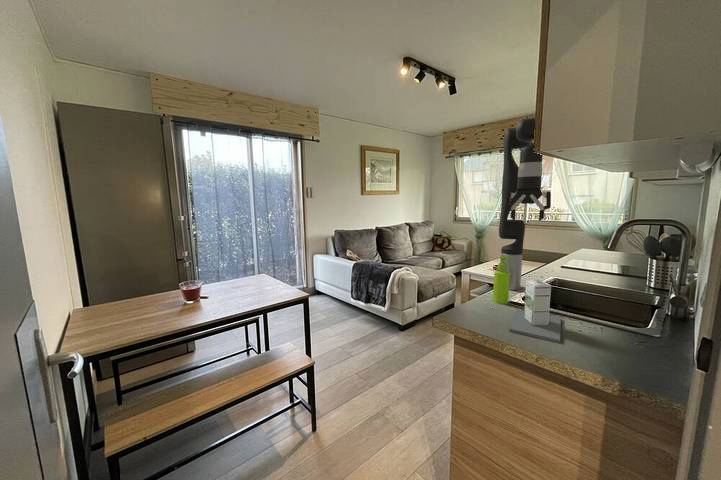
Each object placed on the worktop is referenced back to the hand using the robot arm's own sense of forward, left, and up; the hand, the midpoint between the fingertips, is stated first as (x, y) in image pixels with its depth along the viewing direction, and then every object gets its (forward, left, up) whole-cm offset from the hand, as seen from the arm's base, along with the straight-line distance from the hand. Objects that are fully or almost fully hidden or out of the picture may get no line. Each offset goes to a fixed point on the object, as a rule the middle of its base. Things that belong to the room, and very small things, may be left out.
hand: (526, 220), depth 106 cm
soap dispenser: (-8, -8, -36) cm, 38 cm away
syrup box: (+10, +6, -35) cm, 37 cm away
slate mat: (+10, +6, -36) cm, 38 cm away
